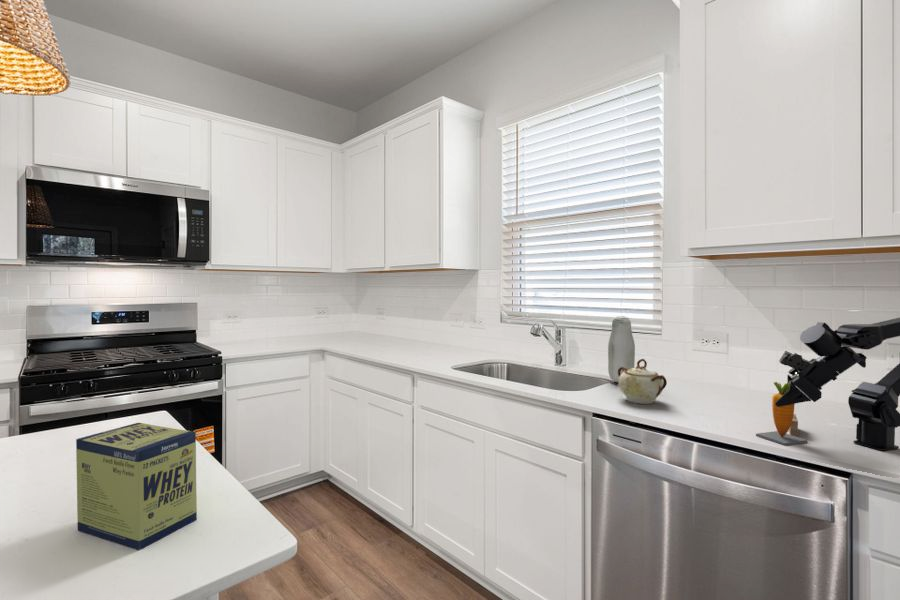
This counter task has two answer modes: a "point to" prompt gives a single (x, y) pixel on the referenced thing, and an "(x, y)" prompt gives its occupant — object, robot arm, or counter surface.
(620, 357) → the grey bottle
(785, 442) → the charcoal mat
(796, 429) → the walnut block
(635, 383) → the sugar bowl
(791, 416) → the carrot
